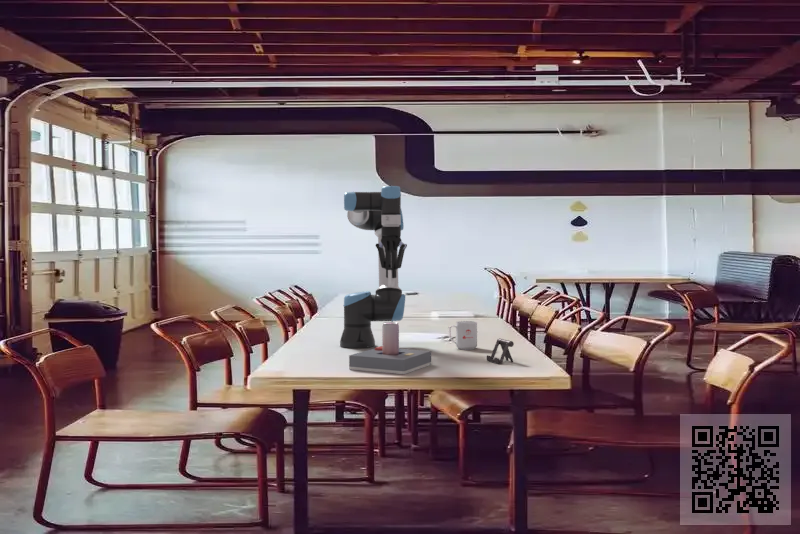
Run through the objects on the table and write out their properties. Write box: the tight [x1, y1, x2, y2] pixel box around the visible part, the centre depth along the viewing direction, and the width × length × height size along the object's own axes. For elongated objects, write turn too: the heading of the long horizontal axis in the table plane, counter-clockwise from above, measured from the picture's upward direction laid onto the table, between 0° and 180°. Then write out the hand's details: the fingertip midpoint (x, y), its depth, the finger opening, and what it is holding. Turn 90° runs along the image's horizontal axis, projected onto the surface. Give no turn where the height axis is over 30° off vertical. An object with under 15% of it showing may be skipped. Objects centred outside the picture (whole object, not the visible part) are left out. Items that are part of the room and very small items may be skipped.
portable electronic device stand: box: [486, 338, 515, 365], centre depth 283 cm, size 9×8×8 cm
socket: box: [348, 345, 432, 375], centre depth 273 cm, size 22×22×6 cm
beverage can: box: [381, 321, 400, 356], centre depth 272 cm, size 6×6×15 cm
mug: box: [448, 320, 478, 351], centre depth 317 cm, size 12×9×11 cm
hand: (391, 286), depth 293 cm, fingers closed
